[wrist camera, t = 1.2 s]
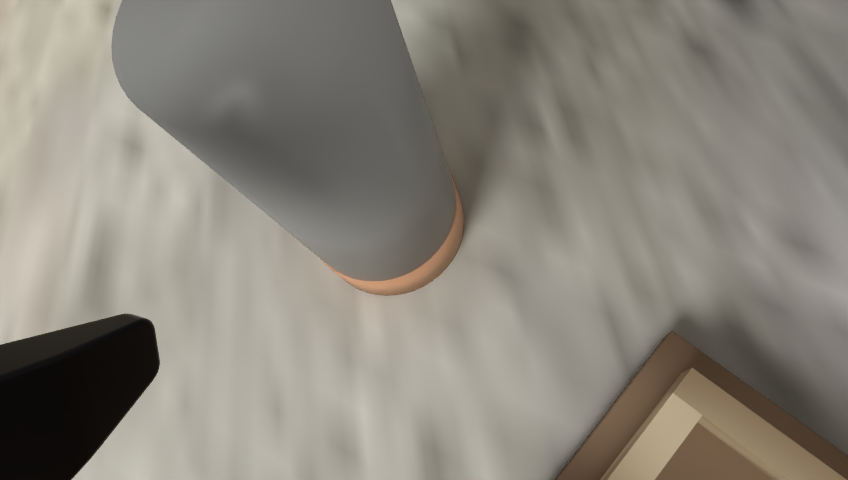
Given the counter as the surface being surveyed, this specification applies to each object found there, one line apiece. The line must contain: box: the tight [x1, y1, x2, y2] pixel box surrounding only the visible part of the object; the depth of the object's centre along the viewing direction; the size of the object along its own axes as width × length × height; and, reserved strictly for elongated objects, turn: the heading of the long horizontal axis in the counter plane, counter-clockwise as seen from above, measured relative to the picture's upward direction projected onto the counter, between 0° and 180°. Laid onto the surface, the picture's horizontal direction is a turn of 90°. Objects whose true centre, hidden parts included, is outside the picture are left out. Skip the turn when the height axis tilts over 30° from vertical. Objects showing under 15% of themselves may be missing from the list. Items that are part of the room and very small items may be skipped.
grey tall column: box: [112, 0, 464, 296], centre depth 18 cm, size 6×6×13 cm
